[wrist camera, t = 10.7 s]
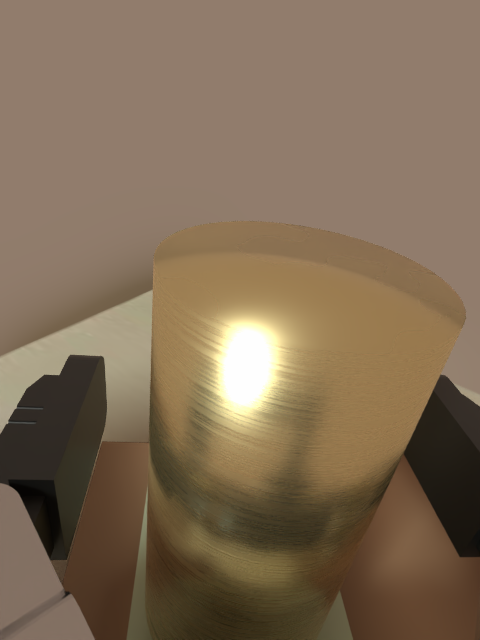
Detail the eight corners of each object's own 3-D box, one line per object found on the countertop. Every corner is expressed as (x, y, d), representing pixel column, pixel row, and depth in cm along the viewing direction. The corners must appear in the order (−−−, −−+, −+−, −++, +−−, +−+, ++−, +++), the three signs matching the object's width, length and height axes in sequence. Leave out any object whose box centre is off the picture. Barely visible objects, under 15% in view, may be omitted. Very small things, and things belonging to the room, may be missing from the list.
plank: (-29, 974, 7) (-49, 965, 6) (103, 467, 17) (102, 437, 16) (1039, 833, 11) (1115, 816, 10) (644, 479, 20) (666, 455, 19)
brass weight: (137, 714, 9) (139, 345, 4) (150, 512, 13) (160, 212, 8) (344, 689, 10) (549, 359, 5) (295, 506, 14) (380, 232, 9)
